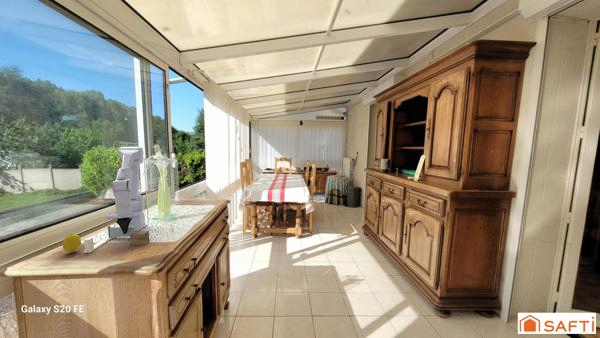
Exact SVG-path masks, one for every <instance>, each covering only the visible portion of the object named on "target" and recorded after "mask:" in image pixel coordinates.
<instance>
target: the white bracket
mask: <svg viewBox="0 0 600 338" xmlns="http://www.w3.org/2000/svg"><path fill="white" fill-rule="evenodd" d="M109 226H110V227H116V225H113V224H111V225H109ZM114 238H115V237H109V236H107V237H105V238H103V239H102V240H100V241H98V242H97V243H94V237H87V238H85V239H84V240H83V244H84V251H83V253H84V254H89V253H92V252H93V251H95V250H97V249H98V248H100V247H102V246H103V245H104V244H107V243H108V242H109V241H111V240H112V239H114Z"/></svg>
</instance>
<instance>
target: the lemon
mask: <svg viewBox="0 0 600 338" xmlns="http://www.w3.org/2000/svg"><path fill="white" fill-rule="evenodd" d="M61 245H62V249H63V250H64V251H66V252H68V253H69V252H70V253H75V252H76V251H77V250H78V249H80V247H81V246H82V240H81V237H80V236H79V235H78V234H74V233H70V234H68V235H66V236H65V237H64V238H63V239H62V243H61Z"/></svg>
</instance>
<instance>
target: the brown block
mask: <svg viewBox="0 0 600 338" xmlns="http://www.w3.org/2000/svg"><path fill="white" fill-rule="evenodd" d="M149 242H150V230H139V231H136V232H133V233H132V234H130V236H129V243H130V246H133V247H134V246H143V245H144V246H145V245H147V244H148V243H149Z"/></svg>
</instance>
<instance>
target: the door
mask: <svg viewBox="0 0 600 338" xmlns="http://www.w3.org/2000/svg"><path fill="white" fill-rule="evenodd" d="M133 232H137V231H136V227H135V226H132V227H128V231H127V233H126V234H123V232H122V230H121V228H120V226H115V227H110V225H108V226H107V235H108V236H109V237H114V238H116V237H117V238H119V237H130V234H132V233H133ZM108 236H107V237H108Z"/></svg>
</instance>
